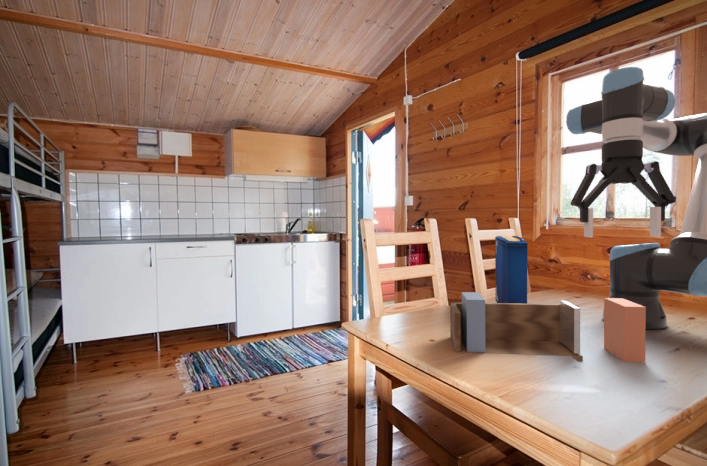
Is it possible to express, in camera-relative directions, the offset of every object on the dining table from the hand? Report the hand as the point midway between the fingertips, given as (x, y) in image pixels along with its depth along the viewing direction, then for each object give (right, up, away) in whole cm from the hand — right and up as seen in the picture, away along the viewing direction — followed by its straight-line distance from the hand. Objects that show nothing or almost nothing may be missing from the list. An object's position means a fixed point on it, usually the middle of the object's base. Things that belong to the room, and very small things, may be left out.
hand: (621, 236), depth 86 cm
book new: (+1, -27, +1) cm, 27 cm away
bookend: (-10, -26, +2) cm, 28 cm away
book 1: (-32, -26, +6) cm, 41 cm away
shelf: (-23, -27, +5) cm, 36 cm away
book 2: (-7, -26, +44) cm, 51 cm away
